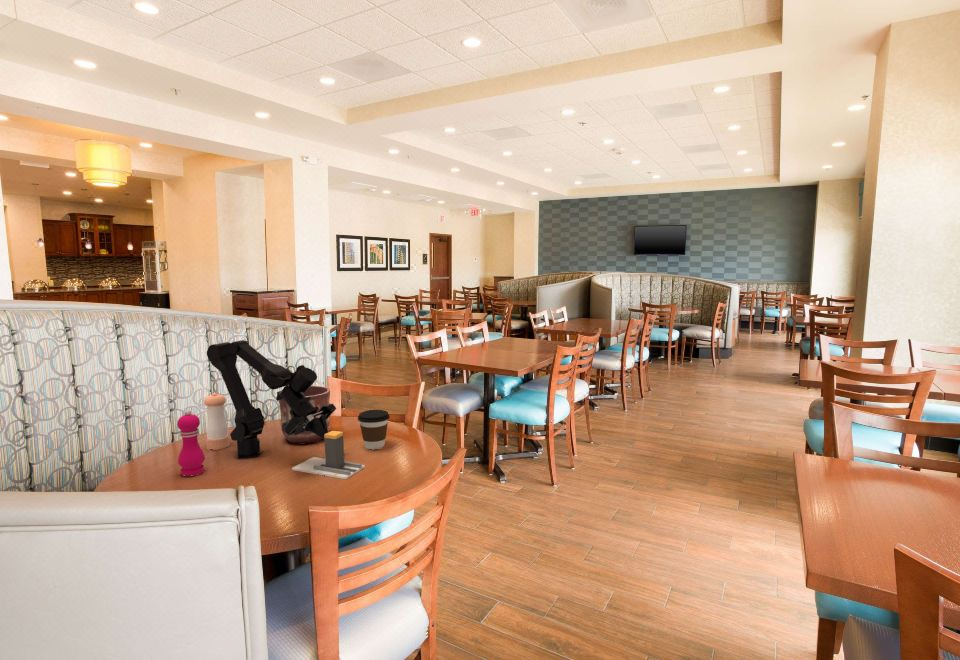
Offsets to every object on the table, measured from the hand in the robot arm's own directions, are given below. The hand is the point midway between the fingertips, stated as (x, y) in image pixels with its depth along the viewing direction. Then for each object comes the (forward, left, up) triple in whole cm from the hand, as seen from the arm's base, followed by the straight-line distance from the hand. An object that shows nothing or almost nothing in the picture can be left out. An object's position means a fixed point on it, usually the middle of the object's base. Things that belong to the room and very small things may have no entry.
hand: (327, 439), depth 163 cm
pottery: (-2, +33, -10) cm, 34 cm away
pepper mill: (-38, +16, -10) cm, 42 cm away
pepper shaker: (-31, +39, -10) cm, 51 cm away
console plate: (0, 0, -9) cm, 9 cm away
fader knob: (+2, -2, -9) cm, 9 cm away
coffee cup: (+18, +13, -10) cm, 24 cm away
